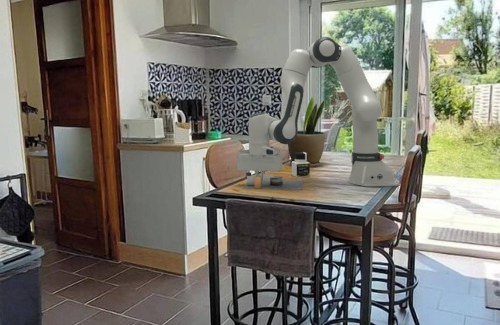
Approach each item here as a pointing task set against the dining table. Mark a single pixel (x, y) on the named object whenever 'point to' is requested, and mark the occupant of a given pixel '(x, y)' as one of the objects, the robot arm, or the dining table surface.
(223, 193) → the dining table surface
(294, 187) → the base plate
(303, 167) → the medicine bottle
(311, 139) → the potted plant
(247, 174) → the crank
